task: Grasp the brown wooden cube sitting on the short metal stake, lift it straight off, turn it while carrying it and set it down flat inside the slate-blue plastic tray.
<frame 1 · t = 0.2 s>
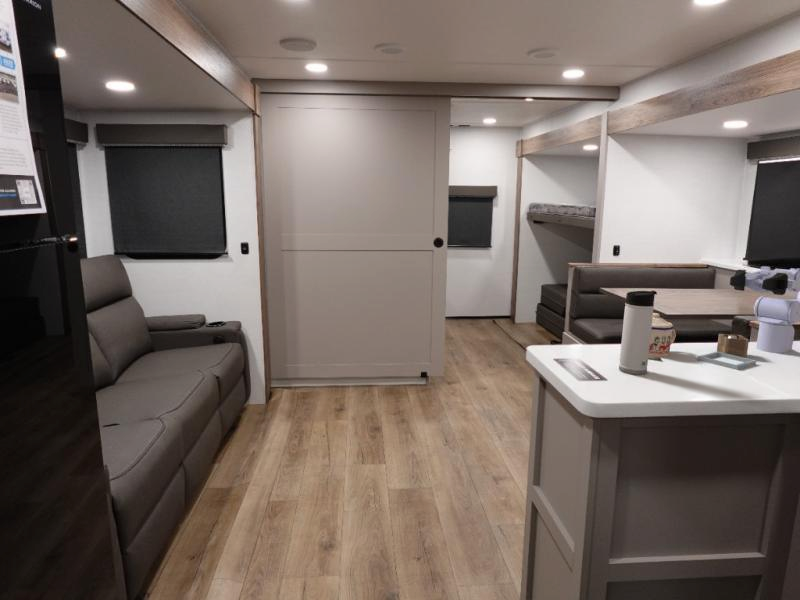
hand: (747, 282, 138), 21 cm above the table, tool horizontal, fingers open, 7 cm apart
brown wooden cube: (731, 354, 145), point 1 cm above the table, touching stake
tray: (725, 365, 138), on the table
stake: (729, 358, 145), on the table
travel mug: (633, 372, 132), on the table
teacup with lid: (655, 355, 147), on the table
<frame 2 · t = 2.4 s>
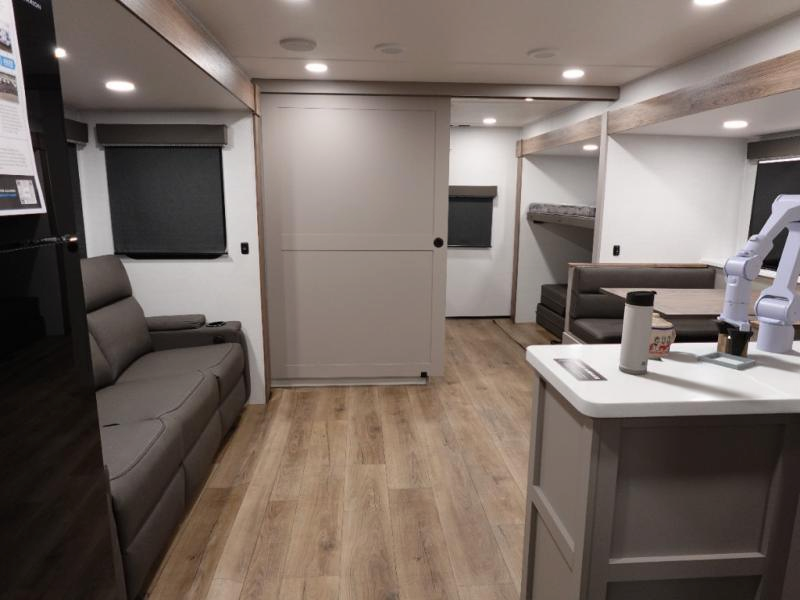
hand: (730, 351, 145), 2 cm above the table, tool pointing down, fingers open, 7 cm apart
nothing on the table moved.
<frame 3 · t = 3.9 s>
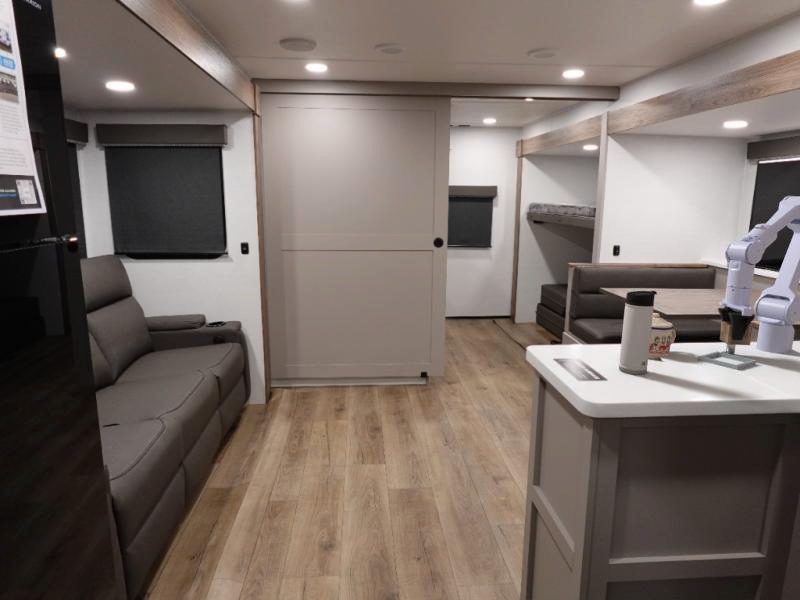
hand: (732, 337, 144), 6 cm above the table, tool pointing down, fingers closed on brown wooden cube, 5 cm apart
brown wooden cube: (734, 342, 144), point 5 cm above the table, touching gripper
everything else where it was.
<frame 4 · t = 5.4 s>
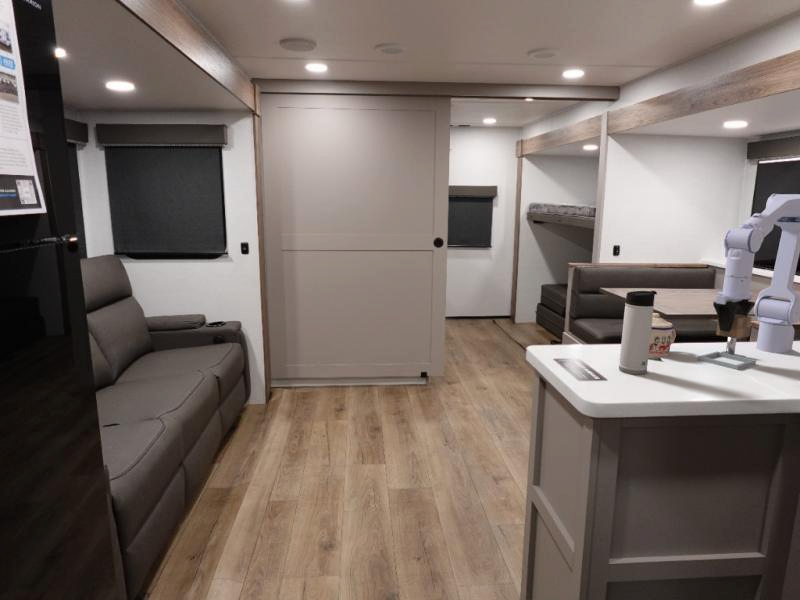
hand: (730, 329, 137), 9 cm above the table, tool pointing down, fingers closed on brown wooden cube, 5 cm apart
brown wooden cube: (732, 335, 136), point 8 cm above the table, touching gripper
everything else where it was.
when the fingers open (3 cm above the table, at t = 7.0 s): brown wooden cube drops 1 cm, resting on tray.
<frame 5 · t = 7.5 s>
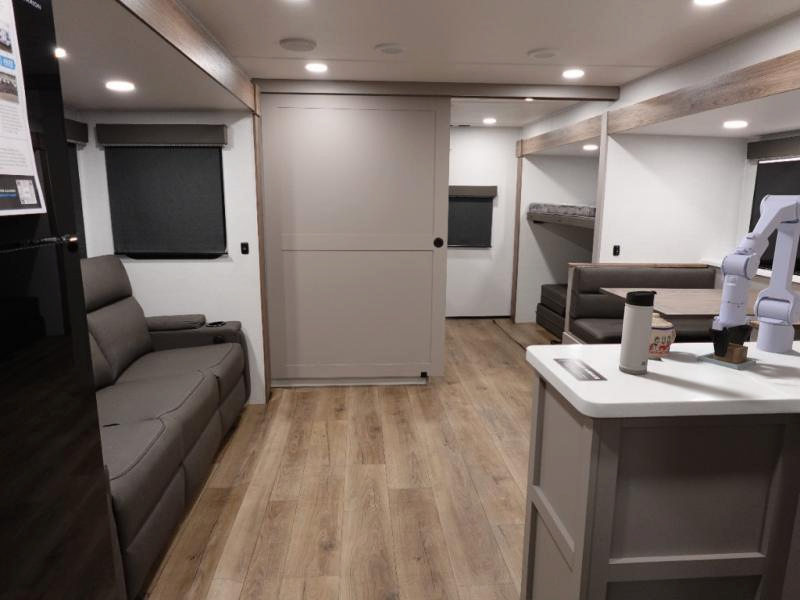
hand: (727, 354, 138), 3 cm above the table, tool pointing down, fingers open, 7 cm apart
brown wooden cube: (729, 364, 138), resting on tray
everything else where it was.
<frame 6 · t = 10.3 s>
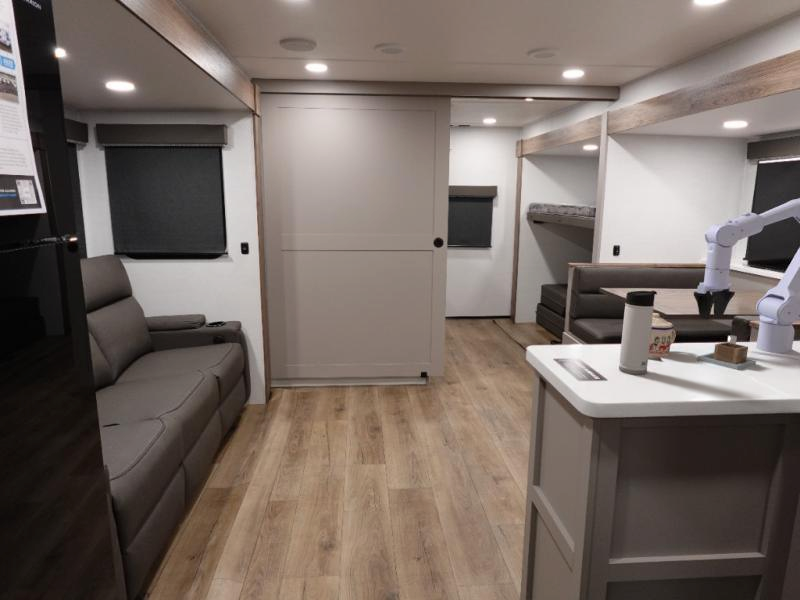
hand: (711, 317, 150), 10 cm above the table, tool pointing down, fingers open, 7 cm apart
nothing on the table moved.
at the end: brown wooden cube inside the target area on the tray (0.7 cm from its centre), point 0.5 cm above the tray's base; brown wooden cube tilted 0°; the gripper is holding nothing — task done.
